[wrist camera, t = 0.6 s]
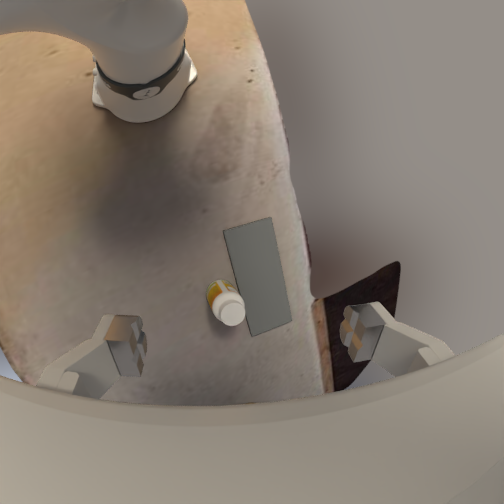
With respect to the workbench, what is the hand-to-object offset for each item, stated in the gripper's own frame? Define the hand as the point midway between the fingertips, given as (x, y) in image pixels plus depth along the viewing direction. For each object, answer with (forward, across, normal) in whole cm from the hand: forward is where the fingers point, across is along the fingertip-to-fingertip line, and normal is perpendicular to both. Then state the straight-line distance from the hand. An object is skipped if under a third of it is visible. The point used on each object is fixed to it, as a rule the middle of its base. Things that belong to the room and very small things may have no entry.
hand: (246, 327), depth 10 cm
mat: (+37, -7, +19) cm, 42 cm away
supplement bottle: (+36, +1, +20) cm, 41 cm away
